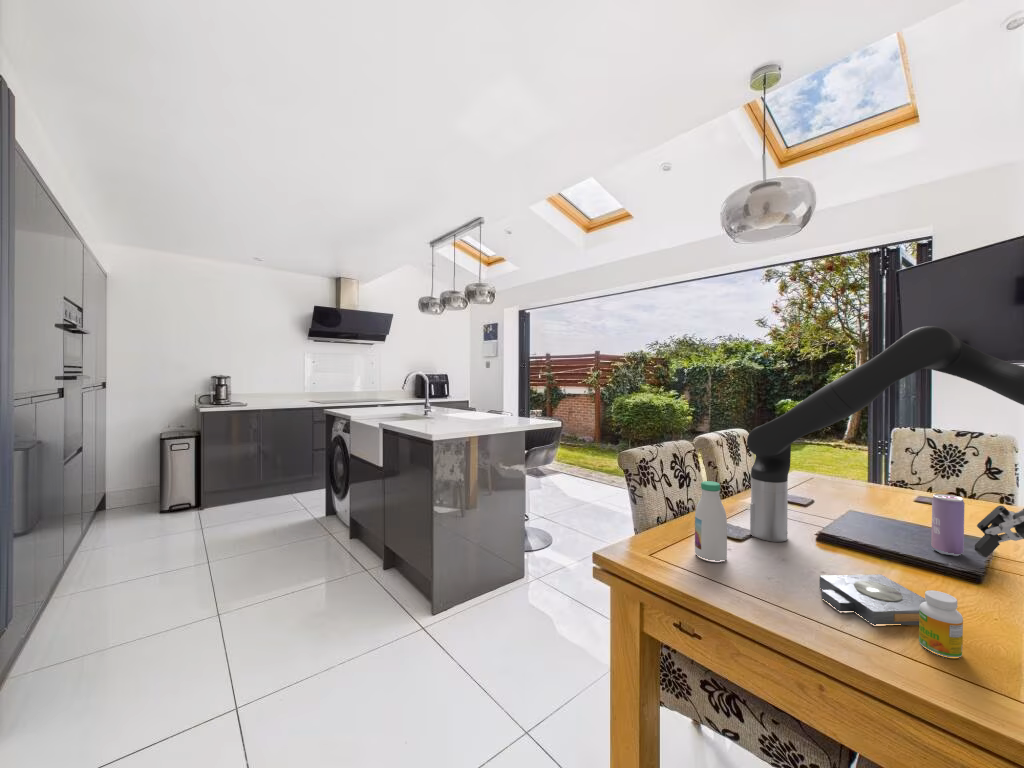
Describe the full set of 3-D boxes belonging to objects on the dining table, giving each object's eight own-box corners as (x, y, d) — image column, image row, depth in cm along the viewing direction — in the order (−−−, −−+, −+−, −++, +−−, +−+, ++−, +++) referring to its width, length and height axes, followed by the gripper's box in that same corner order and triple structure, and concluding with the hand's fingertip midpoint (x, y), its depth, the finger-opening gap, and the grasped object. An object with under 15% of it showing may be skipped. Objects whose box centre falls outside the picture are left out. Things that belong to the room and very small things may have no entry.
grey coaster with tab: (859, 627, 81) (859, 610, 81) (806, 589, 95) (806, 574, 95) (945, 625, 81) (946, 608, 81) (880, 587, 95) (881, 573, 95)
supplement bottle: (910, 641, 77) (910, 588, 76) (937, 639, 77) (938, 587, 77) (942, 661, 71) (943, 605, 71) (971, 659, 72) (972, 603, 71)
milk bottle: (730, 556, 112) (730, 482, 111) (721, 566, 106) (721, 488, 105) (700, 548, 117) (700, 477, 116) (690, 557, 111) (690, 483, 111)
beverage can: (970, 558, 108) (971, 500, 108) (942, 556, 110) (943, 499, 109) (951, 548, 114) (952, 493, 114) (925, 547, 115) (926, 493, 115)
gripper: (1009, 473, 81) (949, 534, 81) (1116, 495, 66) (1044, 569, 67) (1036, 500, 81) (976, 560, 81) (1149, 528, 66) (1076, 601, 67)
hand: (1007, 564), depth 74 cm, fingers open, 8 cm apart
